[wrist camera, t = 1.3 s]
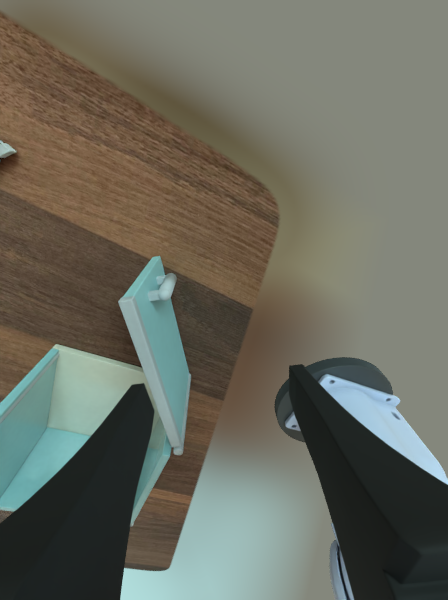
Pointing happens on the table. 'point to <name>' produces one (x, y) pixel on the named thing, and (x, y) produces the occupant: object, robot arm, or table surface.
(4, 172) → the table surface
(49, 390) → the turquoise open box
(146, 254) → the table surface
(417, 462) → the robot arm
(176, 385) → the turquoise cabinet door
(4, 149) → the necklace
